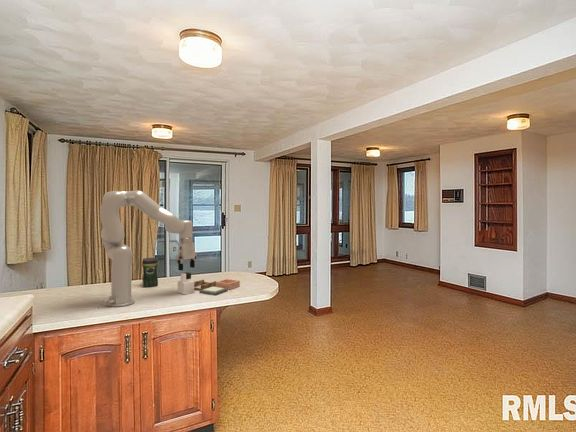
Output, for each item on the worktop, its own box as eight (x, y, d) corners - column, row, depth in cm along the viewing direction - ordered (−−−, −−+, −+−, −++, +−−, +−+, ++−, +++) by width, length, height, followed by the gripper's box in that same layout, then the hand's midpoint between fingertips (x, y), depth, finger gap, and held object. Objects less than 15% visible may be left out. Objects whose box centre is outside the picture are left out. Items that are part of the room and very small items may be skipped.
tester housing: (215, 295, 197) (215, 293, 197) (199, 293, 203) (199, 290, 203) (227, 291, 208) (227, 288, 208) (212, 288, 213) (212, 286, 213)
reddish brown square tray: (229, 290, 210) (229, 283, 210) (215, 288, 215) (215, 282, 215) (239, 286, 220) (239, 280, 220) (226, 284, 225) (226, 278, 225)
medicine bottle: (187, 290, 209) (187, 271, 208) (194, 292, 204) (194, 272, 204) (177, 292, 203) (177, 273, 203) (184, 294, 198) (184, 274, 198)
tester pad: (214, 293, 199) (214, 291, 199) (203, 291, 203) (203, 289, 203) (224, 290, 207) (224, 288, 207) (212, 288, 211) (212, 286, 211)
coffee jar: (157, 284, 226) (157, 256, 225) (158, 286, 219) (158, 258, 218) (141, 285, 222) (141, 257, 221) (142, 288, 215) (142, 259, 214)
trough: (200, 290, 208) (200, 286, 208) (186, 288, 213) (186, 284, 213) (218, 285, 223) (218, 280, 223) (204, 283, 229) (204, 279, 228)
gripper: (180, 242, 194) (180, 271, 194) (200, 239, 209) (201, 266, 210) (170, 241, 197) (171, 270, 198) (191, 239, 212) (192, 265, 213)
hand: (186, 268), depth 204 cm, fingers open, 9 cm apart
